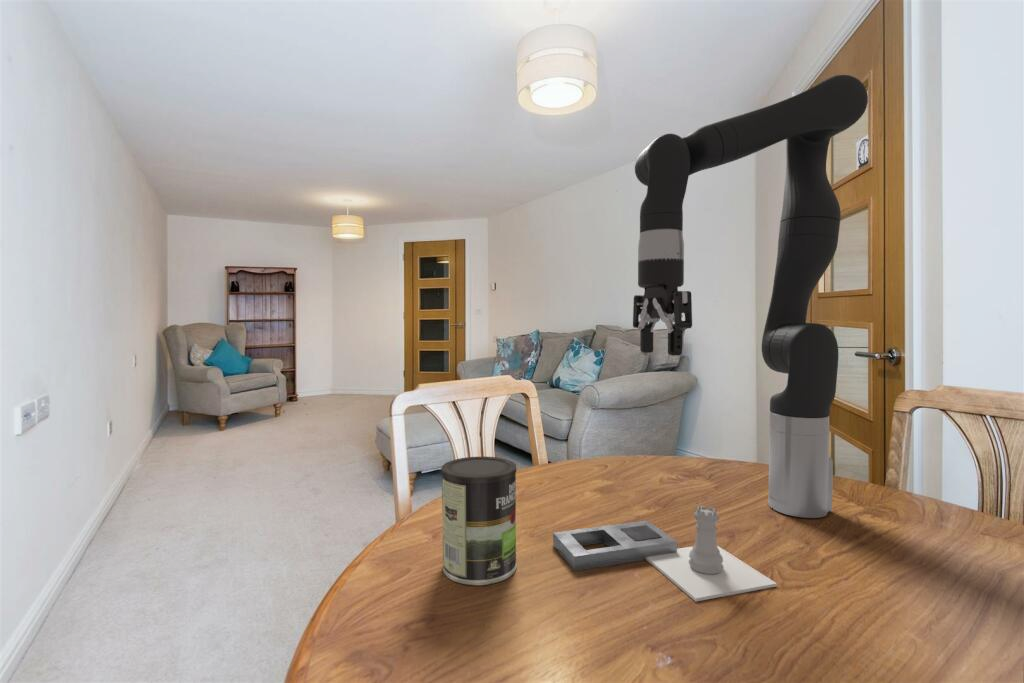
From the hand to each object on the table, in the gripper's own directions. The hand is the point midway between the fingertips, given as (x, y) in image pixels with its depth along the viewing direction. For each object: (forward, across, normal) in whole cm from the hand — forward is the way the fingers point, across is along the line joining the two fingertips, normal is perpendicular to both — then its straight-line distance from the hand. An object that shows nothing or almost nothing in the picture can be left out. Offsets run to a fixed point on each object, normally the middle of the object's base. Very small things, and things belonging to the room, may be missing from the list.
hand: (660, 353), depth 86 cm
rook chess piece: (+28, -19, +5) cm, 34 cm away
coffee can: (+28, -9, +34) cm, 45 cm away
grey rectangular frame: (+28, -10, +14) cm, 33 cm away
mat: (+28, -19, +5) cm, 34 cm away
